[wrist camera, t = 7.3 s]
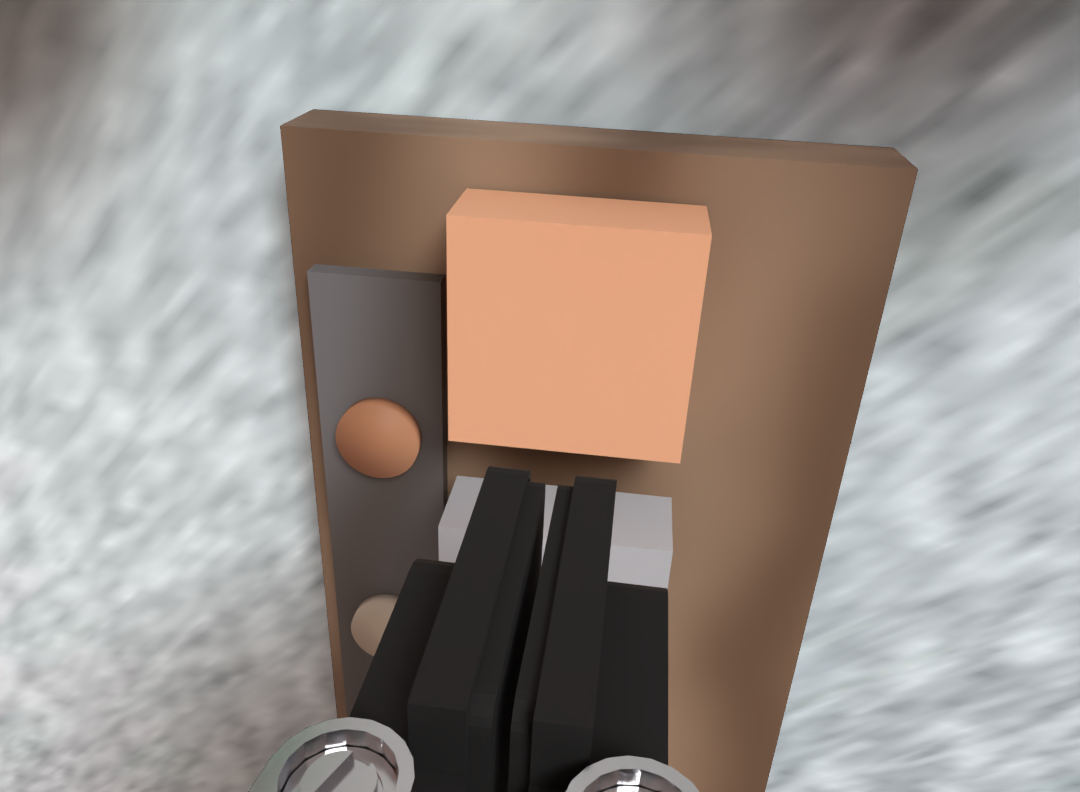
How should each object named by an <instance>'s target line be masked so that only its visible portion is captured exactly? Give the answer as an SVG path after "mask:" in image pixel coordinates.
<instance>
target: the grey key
mask: <svg viewBox="0 0 1080 792" xmlns="http://www.w3.org/2000/svg"><path fill="white" fill-rule="evenodd" d="M483 479H484V478H476V477H466V476H457V478H456V480H455V483H454V486H453V488H452V491H451V494H450V496H449V499H448V502H447V504H446V507H445V510H444V512H443V515H442V518H441V520H440V523H439V526H438V544H439V561H443V562H452V563H455V561H456V558H457V555H458V552H459V550H460V547H461V544H462V541H463V538H464V535H465V532H466V529H467V526H468V523H469V520H470V517H471V515H472V512H473V509H474V506H475V503H476V500H477V497H478V494H479V491H480V488H481V485H482V482H483ZM557 487H558V486H554V485H546V492H545V510H544V528H543V546H542V560H543V556H544V551H545V546H546V541H547V536H548V531H549V526H550V521H551V516H552V511H553V506H554V501H555V496H556V491H557ZM672 554H673V536H672V498H671V497H661V496H651V495H641V494H632V493H622V492H616V496H615V507H614V517H613V528H612V538H611V549H610V559H609V570H608V581H611V582H619V583H627V584H636V585H644V586H652V587H661V588H667V589H668V582H669V575H670V568H671V561H672ZM541 565H542V564H541Z"/></svg>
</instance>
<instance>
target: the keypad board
mask: <svg viewBox="0 0 1080 792" xmlns="http://www.w3.org/2000/svg"><path fill="white" fill-rule="evenodd" d="M280 129H281V139H282V150H283V160H284V170H285V181H286V191H287V201H288V212H289V222H290V233H291V243H292V253H293V264H294V274H295V284H296V295H297V305H298V315H299V326H300V336H301V346H302V357H303V367H304V377H305V388H306V398H307V408H308V419H309V429H310V439H311V450H312V460H313V470H314V481H315V491H316V501H317V512H318V522H319V532H320V543H321V553H322V563H323V574H324V584H325V594H326V605H327V615H328V625H329V636H330V646H331V656H332V667H333V677H334V687H335V698H336V708H337V718H338V719H339V718H347V717H349V716H350V713H351V711H352V708H353V706H354V704H355V701H356V699H357V696H358V694H359V691H360V689H361V687H362V684H363V682H364V679H365V677H366V674H367V672H368V670H369V667H370V665H371V662H372V660H373V657H374V655H375V652H376V650H377V648H378V645H379V643H380V640H381V638H382V635H383V633H384V631H385V628H386V626H387V623H388V621H389V618H390V616H391V613H392V611H393V609H394V606H395V604H396V601H397V599H398V596H399V594H400V592H401V589H402V587H403V584H404V582H405V579H406V577H407V575H408V572H409V570H410V568H411V566H412V564H413V562H414V561H415V560H416V559H417V558H418V559H427V560H435V561H439V544H438V526H439V523H440V520H441V518H442V515H443V512H444V510H445V507H446V504H447V502H448V499H449V496H450V494H451V491H452V488H453V486H454V483H455V480H456V478H457V476H466V477H476V478H484V477H485V474H486V471H487V469H488V467H489V466H495V467H505V468H514V469H523V470H530V471H531V482H540V483H545V485H554V486H558V485H568V486H574V481H575V476H576V475H578V476H588V477H597V478H606V479H615V480H617V486H616V492H622V493H632V494H641V495H651V496H661V497H671V498H672V536H673V554H672V561H671V568H670V575H669V582H668V589H667V590H668V766H670V767H672V768H674V769H675V770H677V771H678V772H679V773H681V774H682V775H683V776H685V777H686V778H687V779H689V780H690V781H691V782H692V783H693V784H694V785H695V787H696V788H697V789H698V790H699V792H765V789H766V785H767V781H768V777H769V773H770V769H771V765H772V761H773V756H774V752H775V748H776V744H777V740H778V736H779V732H780V728H781V724H782V720H783V716H784V712H785V708H786V704H787V700H788V696H789V691H790V687H791V683H792V679H793V675H794V671H795V667H796V663H797V659H798V655H799V651H800V647H801V643H802V639H803V635H804V631H805V626H806V622H807V618H808V614H809V610H810V606H811V602H812V598H813V594H814V590H815V586H816V582H817V578H818V574H819V570H820V565H821V561H822V557H823V553H824V549H825V545H826V541H827V537H828V533H829V529H830V525H831V521H832V517H833V513H834V509H835V505H836V500H837V496H838V492H839V488H840V484H841V480H842V476H843V472H844V468H845V464H846V460H847V456H848V452H849V448H850V444H851V440H852V435H853V431H854V427H855V423H856V419H857V415H858V411H859V407H860V403H861V399H862V395H863V391H864V387H865V383H866V379H867V375H868V370H869V366H870V362H871V358H872V354H873V350H874V346H875V342H876V338H877V334H878V330H879V326H880V322H881V318H882V314H883V309H884V305H885V301H886V297H887V293H888V289H889V285H890V281H891V277H892V273H893V269H894V265H895V261H896V257H897V253H898V249H899V244H900V240H901V236H902V232H903V228H904V224H905V220H906V216H907V212H908V208H909V204H910V200H911V196H912V192H913V188H914V184H915V179H916V175H917V171H918V169H917V168H916V167H915V166H914V165H913V164H911V163H910V162H909V161H908V160H907V159H906V158H905V157H903V156H902V155H901V154H900V153H899V152H898V151H897V150H896V149H894V148H888V147H873V146H858V145H843V144H828V143H813V142H798V141H783V140H768V139H753V138H738V137H723V136H708V135H693V134H678V133H663V132H648V131H633V130H617V129H602V128H587V127H572V126H557V125H542V124H527V123H512V122H497V121H482V120H467V119H452V118H437V117H422V116H407V115H392V114H377V113H362V112H347V111H332V110H317V109H313V110H311V111H309V112H307V113H305V114H303V115H301V116H299V117H297V118H295V119H293V120H291V121H289V122H287V123H285V124H283V125H281V126H280ZM467 188H470V189H483V190H497V191H510V192H524V193H538V194H551V195H565V196H579V197H592V198H606V199H619V200H633V201H647V202H660V203H674V204H688V205H701V206H707V210H708V216H709V221H710V227H711V232H712V239H711V246H710V254H709V261H708V268H707V275H706V282H705V289H704V296H703V304H702V311H701V318H700V325H699V332H698V339H697V347H696V354H695V361H694V368H693V375H692V382H691V390H690V397H689V404H688V411H687V418H686V425H685V433H684V440H683V447H682V454H681V461H680V464H679V463H669V462H659V461H649V460H639V459H628V458H618V457H608V456H598V455H588V454H578V453H568V452H558V451H548V450H538V449H528V448H517V447H507V446H497V445H487V444H477V443H467V442H457V441H448V346H447V239H446V215H447V213H448V212H449V211H450V209H451V208H452V207H453V205H454V204H455V203H456V202H457V200H458V199H459V198H460V196H461V195H462V194H463V192H464V191H465V190H466V189H467Z"/></svg>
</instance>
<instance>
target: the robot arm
mask: <svg viewBox="0 0 1080 792" xmlns="http://www.w3.org/2000/svg"><path fill="white" fill-rule="evenodd" d="M616 486H617V480H615V479H606V478H597V477H588V476H578V475H576V476H575V481H574V486H568V485H558V487H557V491H556V496H555V501H554V506H553V511H552V516H551V521H550V526H549V531H548V536H547V541H546V546H545V551H544V556H543V560H542V546H543V528H544V510H545V492H546V485H545V483H540V482H531V471H530V470H523V469H514V468H505V467H495V466H489V467H488V469H487V471H486V474H485V477H484V479H483V482H482V485H481V488H480V491H479V494H478V497H477V500H476V503H475V506H474V509H473V512H472V515H471V517H470V520H469V523H468V526H467V529H466V532H465V535H464V538H463V541H462V544H461V547H460V550H459V552H458V555H457V558H456V561H455V563H452V562H443V561H435V560H427V559H418V558H417V559H416V560H415V561H414V562H413V564H412V566H411V568H410V570H409V572H408V575H407V577H406V579H405V582H404V584H403V587H402V589H401V592H400V594H399V596H398V599H397V601H396V604H395V606H394V609H393V611H392V613H391V616H390V618H389V621H388V623H387V626H386V628H385V631H384V633H383V635H382V638H381V640H380V643H379V645H378V648H377V650H376V652H375V655H374V657H373V660H372V662H371V665H370V667H369V670H368V672H367V674H366V677H365V679H364V682H363V684H362V687H361V689H360V691H359V694H358V696H357V699H356V701H355V704H354V706H353V708H352V711H351V713H350V716H349V717H347V718H339V719H330V720H326V721H323V722H321V723H318V724H315V725H312V726H310V727H307V728H305V729H304V730H302V731H301V732H299V733H297V734H296V735H294V736H293V737H291V738H290V739H288V740H287V741H286V742H285V743H284V744H283V745H282V746H281V747H280V749H279V750H278V751H277V752H276V753H275V754H274V755H273V756H272V757H271V759H270V760H269V762H268V763H267V765H266V766H265V768H264V769H263V771H262V772H261V774H260V775H259V777H258V778H257V779H256V781H255V782H254V784H253V785H252V787H251V788H250V790H249V791H248V792H699V790H698V789H697V788H696V787H695V785H694V784H693V783H692V782H691V781H690V780H689V779H687V778H686V777H685V776H683V775H682V774H681V773H679V772H678V771H677V770H675V769H674V768H672V767H670V766H668V590H667V588H661V587H652V586H644V585H636V584H627V583H619V582H611V581H608V570H609V559H610V549H611V538H612V528H613V517H614V507H615V496H616ZM541 564H542V565H541Z"/></svg>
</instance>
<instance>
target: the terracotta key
mask: <svg viewBox="0 0 1080 792" xmlns="http://www.w3.org/2000/svg"><path fill="white" fill-rule="evenodd" d="M446 239H447V346H448V441H457V442H467V443H477V444H487V445H497V446H507V447H517V448H528V449H538V450H548V451H558V452H568V453H578V454H588V455H598V456H608V457H618V458H628V459H639V460H649V461H659V462H669V463H679V464H680V461H681V454H682V447H683V440H684V433H685V425H686V418H687V411H688V404H689V397H690V390H691V382H692V375H693V368H694V361H695V354H696V347H697V339H698V332H699V325H700V318H701V311H702V304H703V296H704V289H705V282H706V275H707V268H708V261H709V254H710V246H711V239H712V232H711V227H710V221H709V216H708V210H707V206H701V205H688V204H674V203H660V202H647V201H633V200H619V199H606V198H592V197H579V196H565V195H551V194H538V193H524V192H510V191H497V190H483V189H470V188H467V189H466V190H465V191H464V192H463V194H462V195H461V196H460V198H459V199H458V200H457V202H456V203H455V204H454V205H453V207H452V208H451V209H450V211H449V212H448V213H447V215H446Z"/></svg>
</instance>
